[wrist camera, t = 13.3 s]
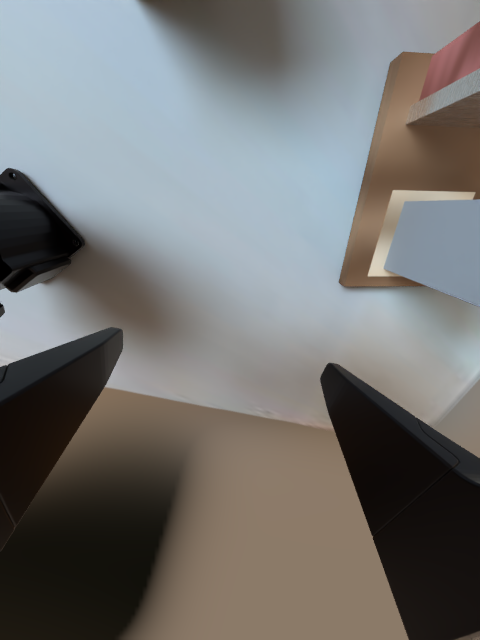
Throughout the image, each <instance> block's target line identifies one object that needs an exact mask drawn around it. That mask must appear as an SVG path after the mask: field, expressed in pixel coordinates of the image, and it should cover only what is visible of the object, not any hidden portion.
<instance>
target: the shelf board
mask: <svg viewBox="0 0 480 640" xmlns="http://www.w3.org/2000/svg"><path fill="white" fill-rule="evenodd" d="M477 199H480V22H478V23H477V24H475V25H474V26H473V27H471V28H470V29H469V30H467V31H466V32H464V33H463V34H462V35H460V36H459V37H458V38H456V39H455V40H453V41H452V42H451V43H449V44H448V45H447V46H445V47H444V48H442V49H441V50H440V51H438V52H437V53H436V54H430V53H415V52H402V53H401V54H400V55H399V56H398V57H396V58H395V59H394V60H393V61H392V62H391V63H390V66H389V71H388V75H387V79H386V83H385V88H384V92H383V96H382V100H381V105H380V109H379V113H378V117H377V122H376V126H375V130H374V134H373V139H372V143H371V147H370V151H369V156H368V160H367V164H366V168H365V173H364V177H363V181H362V185H361V190H360V194H359V198H358V202H357V207H356V211H355V215H354V219H353V224H352V228H351V232H350V236H349V241H348V245H347V249H346V253H345V258H344V262H343V266H342V270H341V275H340V279H339V283H340V284H342V285H343V286H426V285H423V284H421V283H418V282H416V281H413V280H411V279H408V278H405V277H403V276H400V275H398V274H395V273H393V272H390V271H388V270H385V269H383V268H384V265H385V262H386V258H387V255H388V252H389V249H390V246H391V243H392V240H393V236H394V233H395V230H396V227H397V224H398V221H399V218H400V214H401V211H402V208H403V205H404V202H405V201H439V200H477Z"/></svg>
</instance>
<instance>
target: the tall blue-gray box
mask: <svg viewBox="0 0 480 640" xmlns="http://www.w3.org/2000/svg"><path fill="white" fill-rule="evenodd" d="M383 269H385V270H388V271H390V272H393V273H395V274H398V275H400V276H403V277H405V278H408V279H411V280H413V281H416V282H418V283H421V284H423V285H426V286H428V287H431V288H433V289H436V290H438V291H441V292H443V293H446V294H448V295H451V296H453V297H456V298H458V299H461V300H463V301H466V302H468V303H471V304H473V305H476V306H479V307H480V199H477V200H439V201H405V202H404V205H403V208H402V211H401V214H400V218H399V221H398V224H397V227H396V230H395V233H394V236H393V240H392V243H391V246H390V249H389V252H388V255H387V258H386V262H385V265H384V268H383Z"/></svg>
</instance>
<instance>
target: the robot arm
mask: <svg viewBox="0 0 480 640" xmlns="http://www.w3.org/2000/svg"><path fill="white" fill-rule="evenodd" d="M13 174H15V175H16V178H17V179H16V180H15V179H14V177H13ZM75 240H77V241H78V242H79V245H77V244H76V243H75ZM84 245H85V243H84V240H83V239H82V238H81V237H80V236H79V234H78V233H77V232H76V231H75V230H74V229H73V228H72V227H71V226H70V225H69V224H68V223H67V222H66V220H65V219H64V218H63V217H62V216H61V215H60V214H59V213H58V212H57V211H56V210H55V209H54V208H53V206H52V205H51V204H50V203H49V202H48V201H47V200H46V199H45V198H44V197H43V196H42V195H41V193H40V192H39V191H38V190H37V189H36V188H35V187H34V186H33V185H32V184H31V183H30V182H29V181H28V179H27V178H26V177H25V176H24V175H23V174H22V173H21V172H20V171H19V170H16V169H12V168H8V169H6V170H5V171H4V172H3V173H2V174H1V175H0V290H1V289H4V288H7V289H8V290H9V291H11V292H19V291H21V290H24V289H26V288H29V287H31V286H34V285H36V284H38V283H41V282H43V281H46V280H48V279H50V278H53V277H54V276H55V275H56V274H58V273H59V272H60V271H62V270H63V269H64V268H65V267H67V266H68V265H69V264H71V260H70V259H69V258H70V257H71V256H73V255H74V254H75V253H77V252H78V251H79V250H80V249H82V248H83V247H84ZM4 313H5V310H4V306H3V305H2V304H1V303H0V317H1V316H2V315H3V314H4ZM122 349H123V331H122V329H119V328H112V327H111V328H108V329H105V330H102V331H99V332H96V333H94V334H91V335H88V336H85V337H83V338H80V339H77V340H74V341H71V342H69V343H66V344H63V345H60V346H58V347H55V348H52V349H49V350H46V351H44V352H41V353H38V354H35V355H33V356H30V357H27V358H24V359H21V360H19V361H16V362H13V363H10V364H8V366H7V365H5V366H2V367H0V551H1V550H2V548H3V547H4V545H5V544H6V542H7V540H8V539H9V537H10V536H11V534H12V532H13V531H14V527H16V526H17V524H18V523H19V521H20V520H21V518H22V516H23V515H24V513H25V512H26V510H27V508H28V507H29V505H30V504H31V502H32V501H33V499H34V497H35V496H36V494H37V493H38V491H39V489H40V488H41V486H42V485H43V483H44V482H45V480H46V479H47V477H48V475H49V474H50V472H51V471H52V469H53V467H54V466H55V464H56V463H57V461H58V460H59V458H60V456H61V455H62V453H63V452H64V450H65V448H66V447H67V445H68V444H69V442H70V441H71V439H72V437H73V436H74V434H75V433H76V431H77V430H78V428H79V426H80V425H81V423H82V421H83V420H84V419H85V417H86V415H87V414H88V412H89V411H90V409H91V408H92V406H93V404H94V403H95V401H96V400H97V398H98V396H99V395H100V393H101V392H102V390H103V389H104V387H105V385H106V383H107V381H108V379H109V377H110V375H111V373H112V371H113V369H114V367H115V365H116V363H117V361H118V359H119V356H120V354H121V352H122ZM320 381H321V386H322V390H323V394H324V398H325V402H326V406H327V410H328V413H329V416H330V419H331V422H332V424H333V427H334V430H335V433H336V436H337V438H338V441H339V444H340V447H341V450H342V452H343V455H344V458H345V461H346V464H347V467H348V469H349V472H350V475H351V478H352V481H353V483H354V486H355V489H356V492H357V495H358V497H359V500H360V503H361V506H362V509H363V512H364V514H365V517H366V520H367V523H368V525H369V528H370V531H371V534H372V536H373V540H374V543H375V546H376V549H377V551H378V554H379V557H380V560H381V563H382V565H383V568H384V571H385V574H386V577H387V579H388V582H389V585H390V588H391V591H392V593H393V596H394V599H395V602H396V605H397V608H398V610H399V613H400V616H401V619H402V622H403V625H404V627H405V630H406V633H407V636H408V638H409V640H480V458H478V457H477V456H475V455H474V454H472V453H470V452H469V451H467V450H465V449H464V448H462V447H461V446H459V445H458V444H456V443H455V442H453V441H451V440H450V439H448V438H447V437H445V436H444V435H442V434H440V433H439V432H437V431H436V430H434V429H433V428H431V427H430V426H428V425H427V424H425V423H424V422H422V421H421V420H420V419H418V418H415V416H414V415H412V414H411V413H409V412H408V411H406V410H405V409H403V408H402V407H400V406H399V405H397V404H396V403H394V402H393V401H391V400H390V399H388V398H387V397H385V396H384V395H383V394H381V393H380V392H378V391H377V390H375V389H374V388H372V387H371V386H369V385H368V384H366V383H365V382H363V381H362V380H360V379H359V378H357V377H356V376H354V375H353V374H352V373H350V372H349V371H347V370H346V369H344V368H343V367H341V366H340V365H338V364H334V363H328V364H327V365H326V367H325V369H324V371H323V373H322V375H321V378H320Z"/></svg>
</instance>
